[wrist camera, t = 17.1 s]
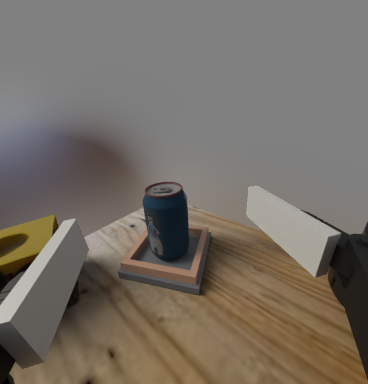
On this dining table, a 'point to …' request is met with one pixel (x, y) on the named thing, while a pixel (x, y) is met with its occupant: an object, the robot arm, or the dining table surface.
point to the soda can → (166, 220)
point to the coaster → (169, 263)
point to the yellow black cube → (26, 249)
